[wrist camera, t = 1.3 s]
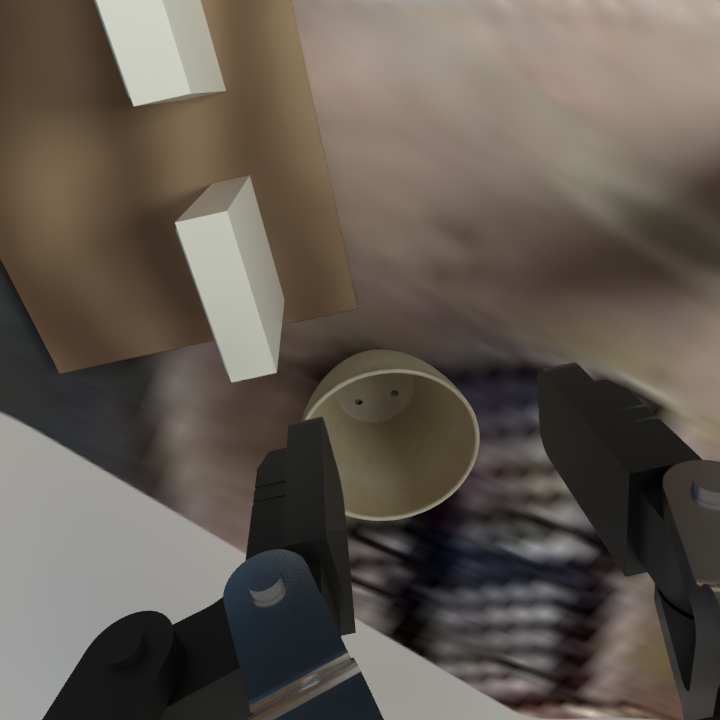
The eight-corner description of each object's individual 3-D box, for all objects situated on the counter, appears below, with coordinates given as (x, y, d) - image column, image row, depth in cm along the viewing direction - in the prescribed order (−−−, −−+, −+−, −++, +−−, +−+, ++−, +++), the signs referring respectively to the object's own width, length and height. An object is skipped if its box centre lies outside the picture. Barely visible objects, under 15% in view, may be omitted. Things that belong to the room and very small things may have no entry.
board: (259, -146, 24) (257, -155, 23) (356, 302, 33) (357, 308, 32) (-146, -54, 24) (-164, -59, 23) (66, 366, 33) (59, 373, 32)
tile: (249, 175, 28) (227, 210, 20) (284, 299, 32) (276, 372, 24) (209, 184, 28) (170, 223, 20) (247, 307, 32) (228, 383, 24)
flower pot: (267, 405, 36) (259, 475, 29) (357, 285, 33) (370, 333, 26) (388, 471, 39) (404, 546, 33) (480, 367, 36) (518, 428, 30)
